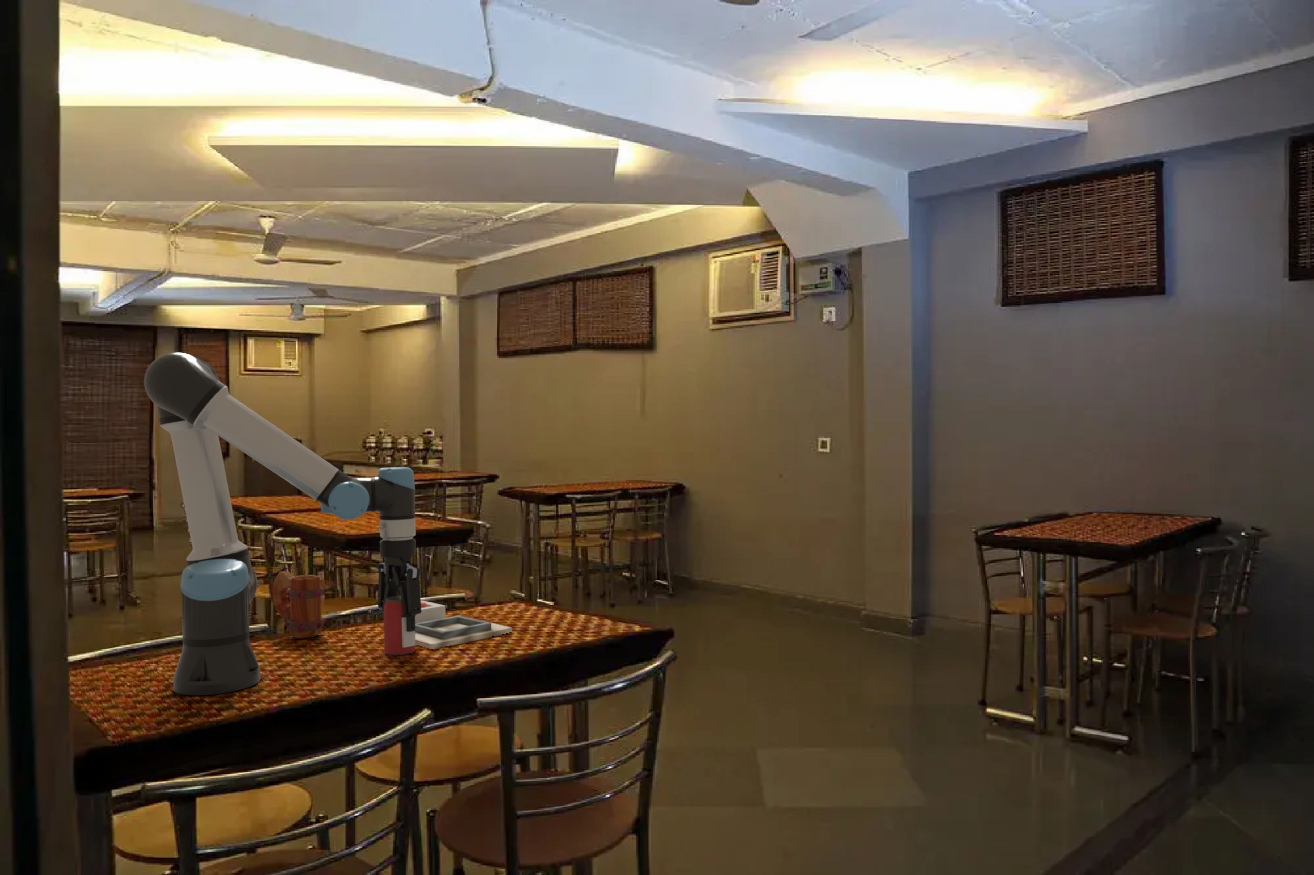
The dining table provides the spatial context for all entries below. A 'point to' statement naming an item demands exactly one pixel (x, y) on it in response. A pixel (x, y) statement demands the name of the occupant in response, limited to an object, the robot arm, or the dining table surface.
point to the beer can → (394, 627)
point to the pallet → (455, 631)
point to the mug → (299, 603)
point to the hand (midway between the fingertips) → (399, 643)
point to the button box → (430, 612)
